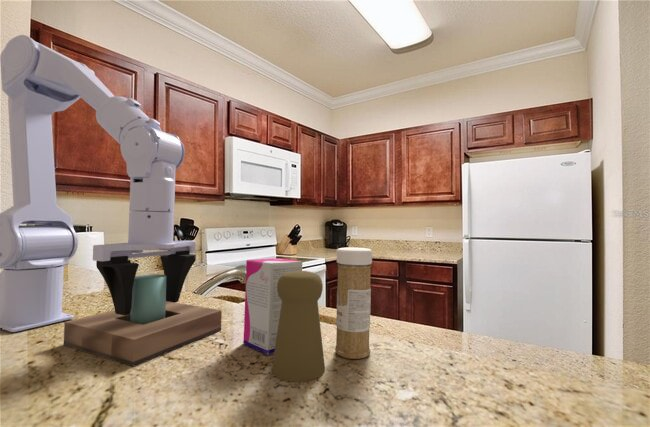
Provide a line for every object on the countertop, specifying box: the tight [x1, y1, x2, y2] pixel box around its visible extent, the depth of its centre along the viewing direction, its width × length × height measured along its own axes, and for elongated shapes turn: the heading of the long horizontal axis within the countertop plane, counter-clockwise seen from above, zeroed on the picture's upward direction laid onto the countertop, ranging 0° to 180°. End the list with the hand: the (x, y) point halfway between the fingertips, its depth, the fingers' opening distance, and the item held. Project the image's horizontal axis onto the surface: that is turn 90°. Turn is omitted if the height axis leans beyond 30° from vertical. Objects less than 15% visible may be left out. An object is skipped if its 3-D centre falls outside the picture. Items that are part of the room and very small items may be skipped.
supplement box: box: [242, 257, 303, 356], centre depth 44 cm, size 6×6×12 cm
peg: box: [130, 273, 166, 325], centre depth 46 cm, size 4×4×8 cm
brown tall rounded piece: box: [271, 270, 326, 383], centre depth 37 cm, size 6×6×11 cm
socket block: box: [63, 301, 223, 367], centre depth 46 cm, size 14×14×3 cm
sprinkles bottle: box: [334, 246, 373, 360], centre depth 41 cm, size 5×5×13 cm
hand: (149, 307), depth 46 cm, fingers open, 7 cm apart
